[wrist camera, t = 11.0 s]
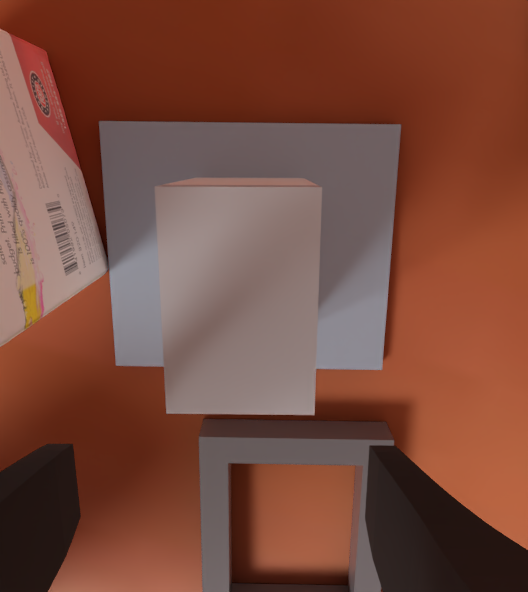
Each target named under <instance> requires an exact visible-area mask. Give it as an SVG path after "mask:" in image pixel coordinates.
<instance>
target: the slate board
mask: <svg viewBox="0 0 528 592" xmlns="http://www.w3.org/2000/svg"><path fill="white" fill-rule="evenodd" d="M99 131H100V146H101V160H102V174H103V189H104V203H105V217H106V231H107V246H108V260H109V274H110V289H111V303H112V317H113V331H114V346H115V360H116V366H158V367H164V360H163V340H162V321H161V301H160V282H159V263H158V243H157V224H156V204H155V186H159V185H164V184H169V183H173V182H178V181H183V180H187V179H192V178H304V179H306V180H308V181H310V182H312V183H314V184H316V185H319V186H321V187H322V206H321V236H320V266H319V296H318V326H317V356H316V369H353V370H382V364H383V352H384V339H385V326H386V313H387V300H388V288H389V275H390V262H391V249H392V236H393V224H394V211H395V198H396V185H397V172H398V160H399V147H400V134H401V124H326V123H237V122H148V121H99Z"/></svg>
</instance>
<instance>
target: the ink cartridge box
mask: <svg viewBox="0 0 528 592" xmlns="http://www.w3.org/2000/svg"><path fill="white" fill-rule="evenodd" d="M108 268H109V266H108V261H107V257H106V254H105V251H104V247H103V244H102V240H101V236H100V233H99V229H98V226H97V222H96V219H95V215H94V212H93V209H92V205H91V201H90V198H89V195H88V191H87V188H86V184H85V181H84V178H83V174H82V171H81V168H80V164H79V161H78V157H77V154H76V150H75V147H74V143H73V140H72V137H71V133H70V130H69V127H68V123H67V120H66V116H65V112H64V109H63V106H62V103H61V99H60V95H59V92H58V89H57V86H56V83H55V80H54V76H53V73H52V70H51V67H50V64H49V60H48V56H47V52H46V51H45V50H44V49H42V48H40V47H37V46H35V45H33V44H31V43H29V42H27V41H25V40H23V39H20V38H18V37H16V36H14V35H12V34H9V33H8V32H6V31H4V30H2V29H0V347H1V346H3V345H4V344H6V343H7V342H9V341H10V340H11V339H13V338H14V337H16V336H17V335H19V334H20V333H22V332H23V331H25V330H26V329H28V328H29V327H30V326H32V325H33V324H34V323H36V322H37V321H39V320H40V319H41V318H43V317H44V316H46V315H47V314H49V313H50V312H51V311H53V310H54V309H56V308H57V307H59V306H60V305H61V304H62V303H64V302H66V301H67V300H69V299H70V298H71V297H73V296H74V295H76V294H77V293H79V292H80V291H82V290H83V289H84V288H86V287H87V286H89V285H90V284H91V283H93V282H94V281H96V280H97V279H99V278H100V277H102V276H103V275H104V274H105V273H106V272H107V271H108Z"/></svg>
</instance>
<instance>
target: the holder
mask: <svg viewBox="0 0 528 592" xmlns="http://www.w3.org/2000/svg"><path fill="white" fill-rule="evenodd" d="M369 445H387V446H394V438H393V436H392V434H391V432H390V430H389V427H388V425H387V423H386V422H365V421H304V420H242V419H203V423H202V427H201V430H200V434H199V465H200V505H201V545H202V586H203V592H381V584H380V581H379V578H378V574H377V571H376V568H375V565H374V561H373V558H372V553H371V548H370V543H369V538H368V532H367V527H366V521H365V508H366V492H367V476H368V460H369ZM231 463H244V464H303V465H356V468H355V483H354V498H353V513H352V528H351V543H350V557H349V572H348V585H299V584H246V583H232V528H231Z"/></svg>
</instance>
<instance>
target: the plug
mask: <svg viewBox="0 0 528 592" xmlns="http://www.w3.org/2000/svg"><path fill="white" fill-rule="evenodd" d="M155 204H156V224H157V243H158V263H159V282H160V301H161V321H162V340H163V360H164V379H165V399H166V414H256V415H315V386H316V356H317V326H318V296H319V266H320V236H321V206H322V187H321V186H319V185H316V184H314V183H312V182H310V181H308V180H306V179H304V178H192V179H187V180H183V181H178V182H173V183H169V184H164V185H159V186H155Z"/></svg>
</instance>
